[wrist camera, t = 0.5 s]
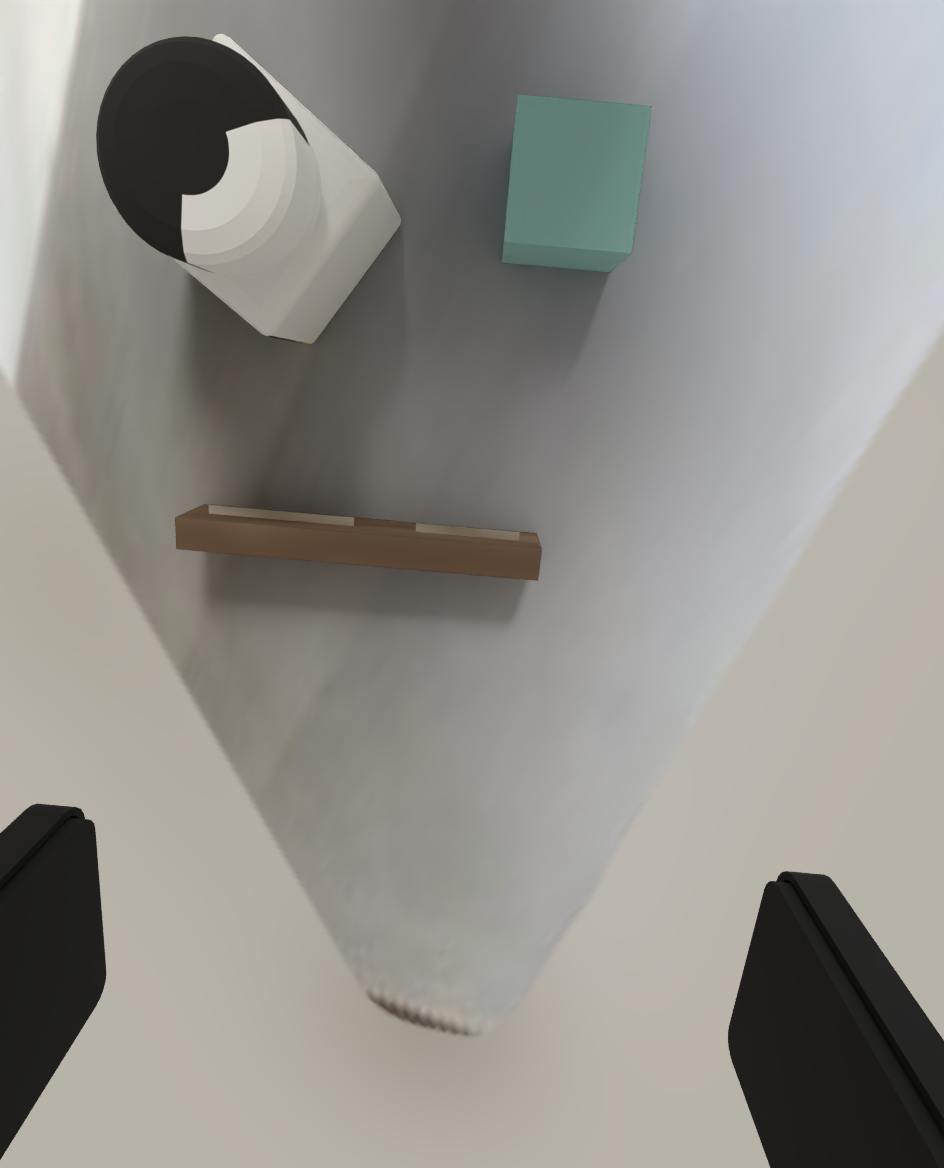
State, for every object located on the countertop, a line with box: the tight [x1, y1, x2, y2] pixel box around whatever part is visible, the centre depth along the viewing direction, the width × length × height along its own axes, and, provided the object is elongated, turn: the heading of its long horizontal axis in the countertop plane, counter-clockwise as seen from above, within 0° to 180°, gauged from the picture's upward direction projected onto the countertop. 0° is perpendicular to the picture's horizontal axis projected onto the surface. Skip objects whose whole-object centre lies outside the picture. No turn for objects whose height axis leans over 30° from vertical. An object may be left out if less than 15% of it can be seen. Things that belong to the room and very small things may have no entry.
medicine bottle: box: [96, 34, 401, 344], centre depth 26 cm, size 7×7×12 cm
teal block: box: [502, 94, 652, 272], centre depth 29 cm, size 5×5×5 cm
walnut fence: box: [175, 504, 542, 580], centre depth 34 cm, size 2×17×4 cm, turn 85°
